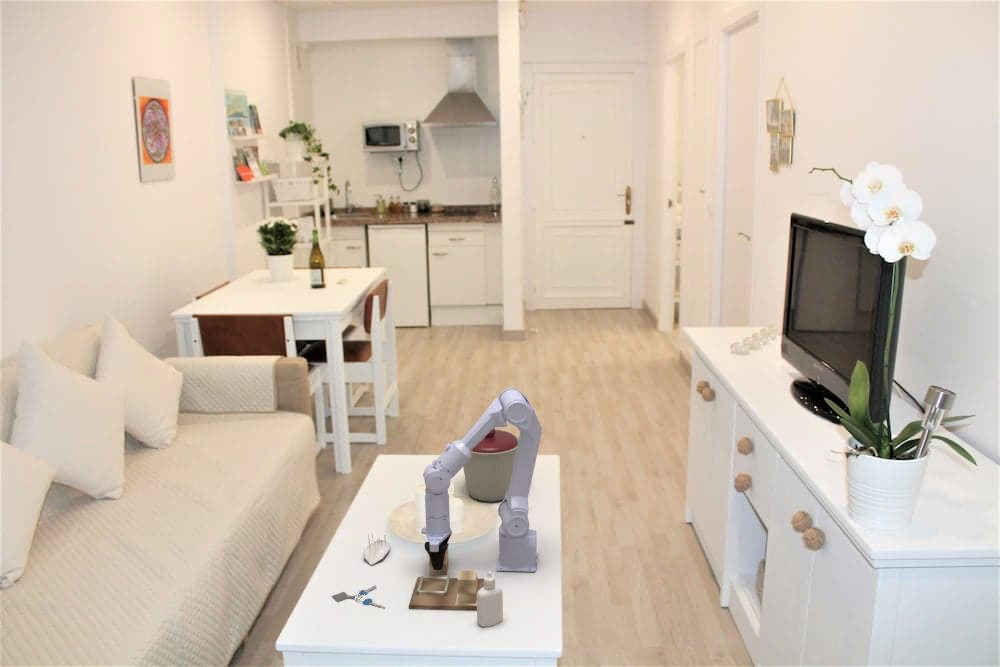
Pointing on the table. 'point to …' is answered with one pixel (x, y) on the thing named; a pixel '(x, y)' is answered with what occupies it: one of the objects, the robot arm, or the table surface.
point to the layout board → (447, 592)
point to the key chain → (344, 596)
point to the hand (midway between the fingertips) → (439, 564)
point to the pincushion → (376, 550)
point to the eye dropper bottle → (489, 603)
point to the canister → (491, 466)
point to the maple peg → (444, 569)
